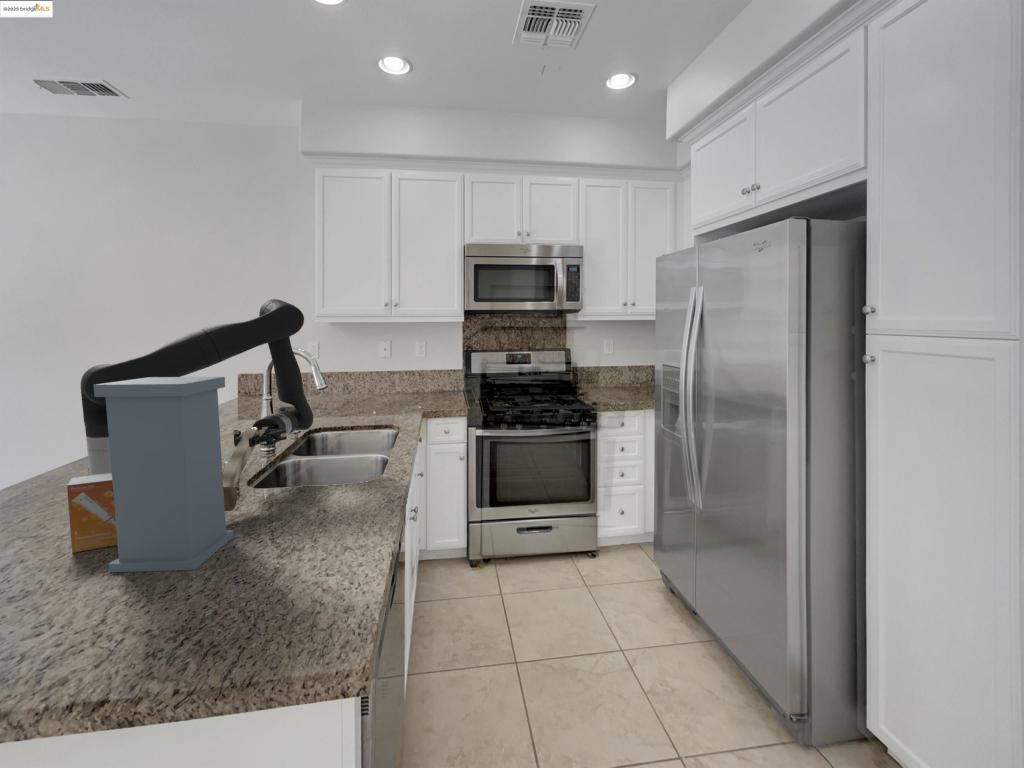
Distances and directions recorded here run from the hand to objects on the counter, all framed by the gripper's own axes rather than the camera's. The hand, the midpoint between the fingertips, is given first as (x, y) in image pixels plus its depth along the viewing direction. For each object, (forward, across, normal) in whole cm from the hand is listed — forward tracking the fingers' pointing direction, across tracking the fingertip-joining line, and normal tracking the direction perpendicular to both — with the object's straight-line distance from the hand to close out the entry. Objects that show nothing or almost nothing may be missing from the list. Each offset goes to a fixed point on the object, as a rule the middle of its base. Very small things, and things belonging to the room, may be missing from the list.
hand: (243, 442), depth 121 cm
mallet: (+5, 0, +6) cm, 8 cm away
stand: (+29, 0, +14) cm, 32 cm away
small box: (+23, -17, +14) cm, 32 cm away
